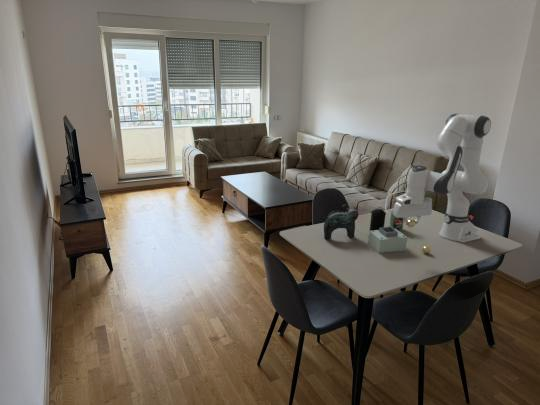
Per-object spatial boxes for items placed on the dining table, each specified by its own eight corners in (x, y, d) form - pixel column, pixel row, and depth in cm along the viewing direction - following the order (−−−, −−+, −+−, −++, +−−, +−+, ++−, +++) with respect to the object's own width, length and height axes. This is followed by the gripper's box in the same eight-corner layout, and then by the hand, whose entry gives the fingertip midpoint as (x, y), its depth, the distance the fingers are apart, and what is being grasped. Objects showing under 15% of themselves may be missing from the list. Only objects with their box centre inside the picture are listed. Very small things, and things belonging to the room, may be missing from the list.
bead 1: (411, 225, 194) (412, 218, 193) (416, 228, 191) (417, 221, 190) (404, 225, 194) (405, 218, 192) (409, 229, 190) (410, 221, 189)
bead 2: (426, 251, 202) (427, 244, 201) (431, 254, 199) (432, 247, 197) (420, 252, 202) (421, 245, 200) (424, 255, 198) (425, 248, 197)
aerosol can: (383, 242, 213) (387, 208, 206) (368, 240, 214) (372, 207, 208) (382, 236, 220) (386, 204, 214) (367, 234, 222) (371, 202, 215)
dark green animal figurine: (353, 234, 223) (356, 202, 216) (358, 238, 217) (361, 205, 210) (321, 236, 218) (324, 204, 212) (326, 241, 212) (328, 208, 206)
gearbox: (393, 241, 214) (395, 224, 210) (405, 250, 203) (408, 232, 199) (367, 243, 210) (369, 226, 207) (378, 253, 199) (380, 235, 196)
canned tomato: (393, 225, 236) (395, 209, 233) (404, 229, 231) (407, 212, 227) (386, 228, 231) (388, 212, 227) (398, 232, 226) (400, 215, 222)
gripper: (428, 195, 192) (424, 219, 197) (392, 197, 188) (389, 223, 192) (436, 198, 186) (432, 224, 191) (399, 201, 182) (396, 228, 187)
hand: (410, 223), depth 192 cm, fingers closed on bead 1, 4 cm apart
